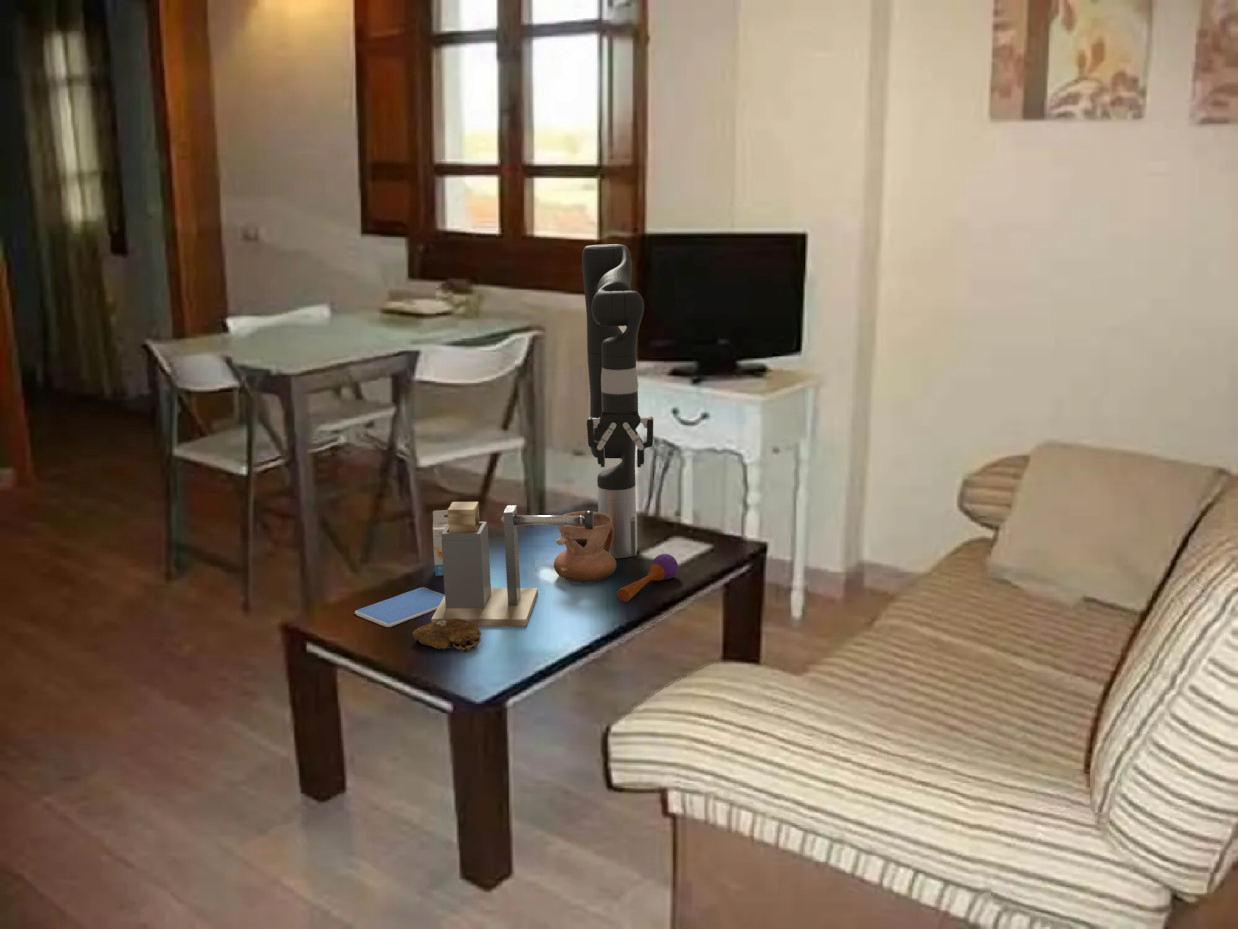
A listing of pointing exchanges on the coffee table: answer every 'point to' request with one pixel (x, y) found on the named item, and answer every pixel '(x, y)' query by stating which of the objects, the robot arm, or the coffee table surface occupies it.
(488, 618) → the birch board
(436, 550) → the ink box
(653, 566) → the purple maraca
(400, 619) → the tablet computer
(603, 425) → the robot arm
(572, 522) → the steel shaft
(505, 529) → the shaft bracket
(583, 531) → the ceramic jug
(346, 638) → the coffee table surface
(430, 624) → the decorative rock
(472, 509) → the collar
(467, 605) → the pedestal
